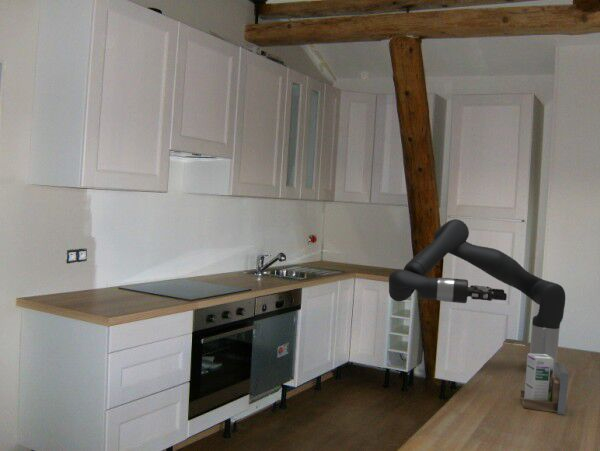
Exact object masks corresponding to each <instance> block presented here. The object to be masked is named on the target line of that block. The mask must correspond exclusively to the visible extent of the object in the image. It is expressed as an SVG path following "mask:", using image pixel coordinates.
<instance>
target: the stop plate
mask: <svg viewBox="0 0 600 451" xmlns="http://www.w3.org/2000/svg"><path fill="white" fill-rule="evenodd" d="M554 375H555V377H556V378H557V380H558V382H559V384H560V385H559V396H558V407H557V413H556V414H557V415H563V416H564V415H566V405H567V393H568V382H569V372H568V371H567V369H566V368H565V367H564V365H563V364H562V363H557V362H556V363H555V368H554Z"/></svg>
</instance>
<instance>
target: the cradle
mask: <svg viewBox="0 0 600 451" xmlns="http://www.w3.org/2000/svg"><path fill="white" fill-rule="evenodd" d="M559 385H560V384H559V382H558V380H557V378H556V377H555V375H553V376H552V388H551V401H550V402H547V401H540V400H532V399H525V398H524V395H525V389H520V395H519V396H520V397H519V398H520V401H521V404H522V407H523V409H529V410H535V411H543V412H551V413H556V414H557V407H558V396H559Z"/></svg>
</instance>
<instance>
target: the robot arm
mask: <svg viewBox="0 0 600 451" xmlns="http://www.w3.org/2000/svg"><path fill="white" fill-rule="evenodd" d="M469 235H470V230H469V227H468V226H467V224H466V223H465V222H464V221H462V220H461V219H457V218H456V219H451V220H448V221H447V222H445V223H443V225H441V226H439V228H437V229H436V230H435V232H433V241H431V243H430V244H428V245H427V246H426V247H425V248H423V249H422V250H420V251H419V252H418V253H417V254H416V255H414V256H413V257H412V258H411V259H410V260H409V261H408V262H407V263H406V265H405V266H404V268H403V269H397V270H394V271H392V272H391V273H390V274H389V277H388V294H389V296H390V298H391V299H392V300H393V301H395V302H403V301H406V300H408V299H409V298H410V297H411V296H412V295H413V293H414V292H415V291H417V294H418V297H419V298H421V299H423V300H434V301H440V302H447V303H456V304H466V303H467V302H468V298H469V297H470V298H471V300H481V301H489V302H491V301H493V300H495V301H497V300H498V301H506V300H507V296H508V294H507V293H506V292H505V290H504V288H503V289H500V288H492V287H490V286H483V285H481V286H480V285H470V286H469V281H468V279H465V278H464V279H463V278H450V277H431V276H430V277H429V276H427V275H428V274H429V273H430V272H431V271H432V270H433V269H434V267H436V265H437V264H439V262H440V261H441V260H443V258H444V257H445V256H446V255H448V254H450V255H453V256H455V257H457V258H459V259H462V260H464V261H465V262H467V263H469V264H471V265H472V266H474V267H475V268H478V269H479V270H481V271H483V272H484V273H485V274H487V275H489V276H491V277H492V278H494V279H496V280H497V281H500V282H502V283H504V284H506V285H507V286H509V287H512V288H515V289H517V290H518V291H519V292H521V293H523V294H524V295H526V297H528V298H529V299H530V300H532V301H533V302H534V303H536V304H537V305H539V307H538V313H537V314H536V315H535V316H533V317H532V324H531V333H530V335H531V336H530V345H529V353H531V354H546V355H549V356H551V357H552V358H554V364H553V375H554V368H555V363H557V359H558V349H559V338H560V326H561V323H562V321H563V319H564V314H565V313H564V312H565V306H566V291H565V289H564V288H563V286H562V285H561V284H559V283H556V282H552V281H549V280H545V279H543V278H540V277H538V276H536V275H534V274H533V273H530V272H528V271H527V269H525V268H524V267H523V266H522V265H521V264H520V263H519V262H518V261H516V259H514V258H513V257H511V256H510V255H508V254H506V253H505V252H503V251H501V250H499V249H496V248H492V247H488V246H487V247H486V246H481V245H476V244H473V243H471V242H468V238H469Z"/></svg>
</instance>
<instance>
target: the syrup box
mask: <svg viewBox="0 0 600 451" xmlns="http://www.w3.org/2000/svg"><path fill="white" fill-rule="evenodd" d="M526 356H527V358H526V369H525V370H526V371H525V384H524V390H525V395H524V398H525V399H532V400H540V401H547V402H550V401H551V388H552V376H553V364H554V358H552V357H551V356H549V355H546V354H531V353H530V352H529V353H527V355H526Z"/></svg>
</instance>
